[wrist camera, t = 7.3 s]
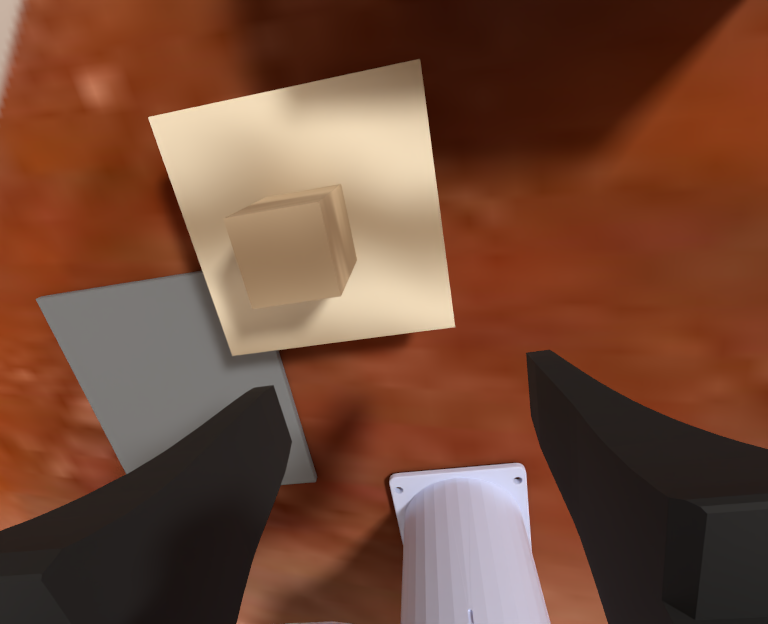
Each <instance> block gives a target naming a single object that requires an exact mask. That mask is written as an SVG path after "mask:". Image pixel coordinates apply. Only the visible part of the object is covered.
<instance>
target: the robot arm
mask: <svg viewBox="0 0 768 624" xmlns="http://www.w3.org/2000/svg"><path fill="white" fill-rule="evenodd" d="M526 356H527V369H528V382H529V395H530V408H531V417H532V421H533V424H534V427H535V431H536V434H537V437H538V441H539V444H540V447H541V450H542V452H543V454H544V456H545V459H546V461H547V463H548V465H549V468H550V470H551V472H552V474H553V477H554V479H555V481H556V483H557V485H558V488H559V490H560V492H561V494H562V497H563V499H564V501H565V503H566V505H567V508H568V510H569V512H570V514H571V516H572V519H573V521H574V523H575V526H576V528H577V531H578V533H579V536H580V539H581V542H582V545H583V548H584V550H585V553H586V556H587V559H588V562H589V565H590V568H591V571H592V574H593V577H594V580H595V584H596V587H597V590H598V593H599V596H600V599H601V602H602V605H603V608H604V612H605V615H606V618H607V621H608V624H768V449H765V448H761V447H757V446H754V445H750V444H746V443H742V442H739V441H736V440H732V439H729V438H726V437H723V436H719V435H716V434H713V433H711V432H708V431H705V430H702V429H699V428H696V427H694V426H691V425H688V424H685V423H683V422H680V421H677V420H675V419H672V418H670V417H668V416H665V415H663V414H661V413H659V412H656V411H654V410H652V409H649V408H647V407H645V406H643V405H641V404H639V403H637V402H635V401H633V400H631V399H629V398H627V397H625V396H623V395H621V394H619V393H618V392H616V391H614V390H612V389H610V388H609V387H607V386H605V385H603V384H602V383H600V382H598V381H597V380H595V379H593V378H592V377H590V376H589V375H587V374H586V373H584V372H582V371H581V370H579V369H578V368H576V367H575V366H573V365H572V364H570V363H569V362H567V361H566V360H564V359H563V358H561V357H560V356H559V355H557V354H556V353H554V352H552V351H551V350H545V351H537V352H529V353H526ZM291 445H292V440H291V437H290V434H289V430H288V427H287V424H286V421H285V418H284V415H283V412H282V409H281V406H280V403H279V400H278V397H277V394H276V391H275V388H274V385H270V386H262V387H254V388H252V389H251V390H249V391H247V392H246V393H244V394H243V395H241V396H240V397H239V398H237V399H236V400H234V401H233V402H232V403H230V404H229V405H228V406H226V407H225V408H224V409H222V410H221V411H220V412H218V413H217V414H216V415H214V416H213V417H212V418H211V419H209V420H208V421H207V422H205V423H204V424H203V425H201V426H200V427H198V428H197V429H196V430H194V431H193V432H191V433H190V434H189V435H187V436H186V437H184V438H183V439H181V440H180V441H179V442H177V443H176V444H174V445H173V446H171V447H170V448H169V449H167V450H166V451H164V452H163V453H161V454H159V455H158V456H156V457H155V458H153V459H151V460H150V461H148V462H146V463H145V464H143V465H141V466H140V467H138V468H136V469H135V470H133V471H131V472H129V473H128V474H126V475H124V476H122V477H120V478H118V479H116V480H114V481H113V482H111V483H109V484H107V485H105V486H103V487H101V488H99V489H97V490H95V491H93V492H91V493H89V494H87V495H85V496H83V497H81V498H79V499H77V500H75V501H72V502H70V503H68V504H66V505H64V506H61V507H59V508H57V509H54V510H52V511H50V512H48V513H45V514H43V515H41V516H38V517H36V518H33V519H31V520H28V521H26V522H23V523H20V524H18V525H15V526H12V527H10V528H7V529H4V530H2V531H0V624H236V623H237V619H238V614H239V610H240V606H241V602H242V598H243V594H244V590H245V587H246V583H247V579H248V576H249V572H250V568H251V564H252V561H253V558H254V555H255V552H256V549H257V546H258V543H259V540H260V538H261V535H262V533H263V530H264V527H265V525H266V522H267V520H268V517H269V514H270V512H271V509H272V507H273V504H274V502H275V499H276V496H277V494H278V491H279V488H280V486H281V483H282V480H283V477H284V475H285V471H286V467H287V463H288V459H289V454H290V449H291ZM516 477H520V478H519V479H514V478H516ZM389 485H390V489H391V494H392V498H393V502H394V507H395V511H396V516H397V520H398V524H399V529H400V533H401V538H402V542H403V574H402V601H401V624H550V620H549V616H548V612H547V608H546V605H545V601H544V597H543V593H542V589H541V586H540V582H539V578H538V574H537V570H536V566H535V563H534V559H533V555H532V549H531V535H530V521H529V507H528V493H527V480H526V471H525V468H524V466H523V465H522V464H520V463H509V464H497V465H486V466H474V467H463V468H451V469H440V470H428V471H417V472H405V473H395V474H393V475H391V476H390V480H389ZM396 487H401V488H400V489H399V488H396ZM287 624H350V623H342V622H334V621H330V622H308V623H287Z"/></svg>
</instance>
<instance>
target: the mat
mask: <svg viewBox="0 0 768 624" xmlns="http://www.w3.org/2000/svg"><path fill="white" fill-rule="evenodd" d="M36 301H37V303H38V304H39V306H40V308H41V310H42V312H43V314H44V316H45V318H46V320H47V322H48V324H49V326H50V328H51V330H52V331H53V333H54V335H55V337H56V339H57V341H58V343H59V345H60V347H61V349H62V351H63V353H64V355H65V357H66V358H67V360H68V362H69V364H70V366H71V368H72V370H73V372H74V374H75V376H76V378H77V380H78V382H79V384H80V386H81V387H82V389H83V391H84V393H85V395H86V397H87V399H88V401H89V403H90V405H91V407H92V409H93V411H94V413H95V414H96V416H97V418H98V420H99V422H100V424H101V426H102V428H103V430H104V432H105V434H106V436H107V438H108V440H109V441H110V443H111V445H112V447H113V449H114V451H115V453H116V455H117V457H118V459H119V461H120V463H121V465H122V467H123V468H124V470H125V472H126V474H128V473H129V472H131V471H133V470H135V469H136V468H138V467H140V466H141V465H143V464H145V463H146V462H148V461H150V460H151V459H153V458H155V457H156V456H158V455H159V454H161V453H163V452H164V451H166V450H167V449H169V448H170V447H171V446H173V445H174V444H176V443H177V442H179V441H180V440H181V439H183V438H184V437H186V436H187V435H189V434H190V433H191V432H193V431H194V430H196V429H197V428H198V427H200V426H201V425H203V424H204V423H205V422H207V421H208V420H209V419H211V418H212V417H213V416H214V415H216V414H217V413H218V412H220V411H221V410H222V409H224V408H225V407H226V406H228V405H229V404H230V403H232V402H233V401H234V400H236V399H237V398H239V397H240V396H241V395H243V394H244V393H246V392H247V391H249V390H251V389H252V388H254V387H262V386H270V385H274V388H275V391H276V394H277V397H278V400H279V403H280V406H281V409H282V412H283V415H284V418H285V421H286V424H287V427H288V430H289V434H290V437H291V440H292V445H291V449H290V454H289V459H288V463H287V467H286V471H285V475H284V477H283V480H282V483H281V485H287V484H299V483H310V482H316V480H317V475H316V472H315V468H314V465H313V462H312V459H311V455H310V452H309V449H308V445H307V442H306V439H305V436H304V432H303V429H302V426H301V423H300V419H299V416H298V413H297V410H296V406H295V403H294V400H293V396H292V393H291V390H290V387H289V383H288V380H287V377H286V374H285V370H284V367H283V364H282V361H281V357H280V354H279V351H278V350H274V351H267V352H259V353H251V354H244V355H236V356H232V353H231V351H230V348H229V345H228V342H227V339H226V336H225V334H224V331H223V328H222V325H221V322H220V319H219V317H218V314H217V311H216V308H215V305H214V302H213V300H212V297H211V294H210V291H209V288H208V286H207V283H206V280H205V277H204V274H203V271H198V272H192V273H185V274H179V275H173V276H167V277H160V278H154V279H148V280H142V281H135V282H129V283H123V284H117V285H110V286H104V287H98V288H91V289H85V290H79V291H73V292H66V293H60V294H54V295H48V296H42V297H39V298H37V299H36Z"/></svg>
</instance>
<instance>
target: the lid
mask: <svg viewBox="0 0 768 624" xmlns="http://www.w3.org/2000/svg"><path fill="white" fill-rule="evenodd" d="M148 119H149V122H150V124H151V127H152V130H153V133H154V136H155V138H156V141H157V144H158V147H159V150H160V153H161V155H162V158H163V161H164V164H165V167H166V170H167V172H168V175H169V178H170V181H171V184H172V187H173V189H174V192H175V195H176V198H177V201H178V204H179V206H180V209H181V212H182V215H183V218H184V220H185V223H186V226H187V229H188V232H189V235H190V237H191V240H192V243H193V246H194V249H195V252H196V254H197V257H198V260H199V263H200V266H201V269H202V271H203V274H204V277H205V280H206V283H207V286H208V288H209V291H210V294H211V297H212V300H213V302H214V305H215V308H216V311H217V314H218V317H219V319H220V322H221V325H222V328H223V331H224V334H225V336H226V339H227V342H228V345H229V348H230V351H231V353H232V356H236V355H244V354H251V353H259V352H267V351H274V350H282V349H290V348H297V347H305V346H313V345H320V344H328V343H336V342H343V341H351V340H359V339H366V338H374V337H382V336H389V335H397V334H405V333H412V332H420V331H428V330H435V329H443V328H451V327H455V323H454V315H453V307H452V300H451V292H450V284H449V277H448V269H447V261H446V254H445V246H444V238H443V230H442V223H441V215H440V207H439V200H438V192H437V184H436V177H435V169H434V161H433V154H432V146H431V138H430V131H429V123H428V115H427V108H426V100H425V92H424V85H423V77H422V69H421V62H420V59H417V60H412V61H407V62H403V63H398V64H393V65H389V66H384V67H380V68H375V69H370V70H366V71H361V72H356V73H352V74H347V75H342V76H338V77H333V78H328V79H324V80H319V81H314V82H310V83H305V84H300V85H296V86H291V87H287V88H282V89H277V90H273V91H268V92H263V93H259V94H254V95H249V96H245V97H240V98H235V99H231V100H226V101H221V102H217V103H212V104H207V105H203V106H198V107H194V108H189V109H184V110H180V111H175V112H170V113H166V114H161V115H156V116H152V117H148Z"/></svg>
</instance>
